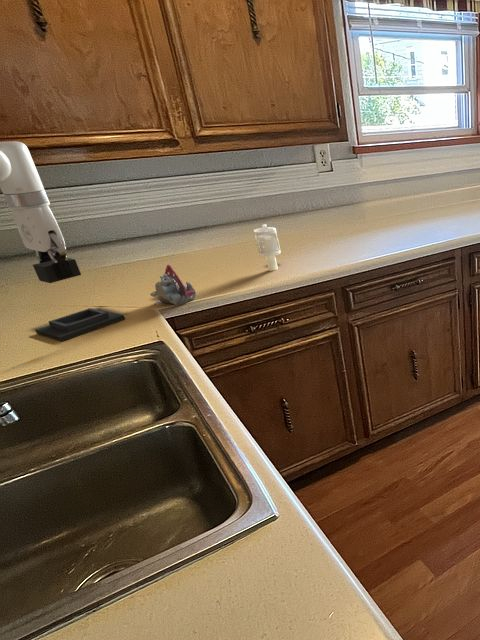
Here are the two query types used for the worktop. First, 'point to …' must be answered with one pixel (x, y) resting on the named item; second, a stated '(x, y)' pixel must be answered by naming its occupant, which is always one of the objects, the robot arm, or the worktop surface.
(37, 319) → the worktop surface
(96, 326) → the base pad
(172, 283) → the grey creature figurine
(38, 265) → the top pad
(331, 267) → the worktop surface
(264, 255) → the white tall piece
